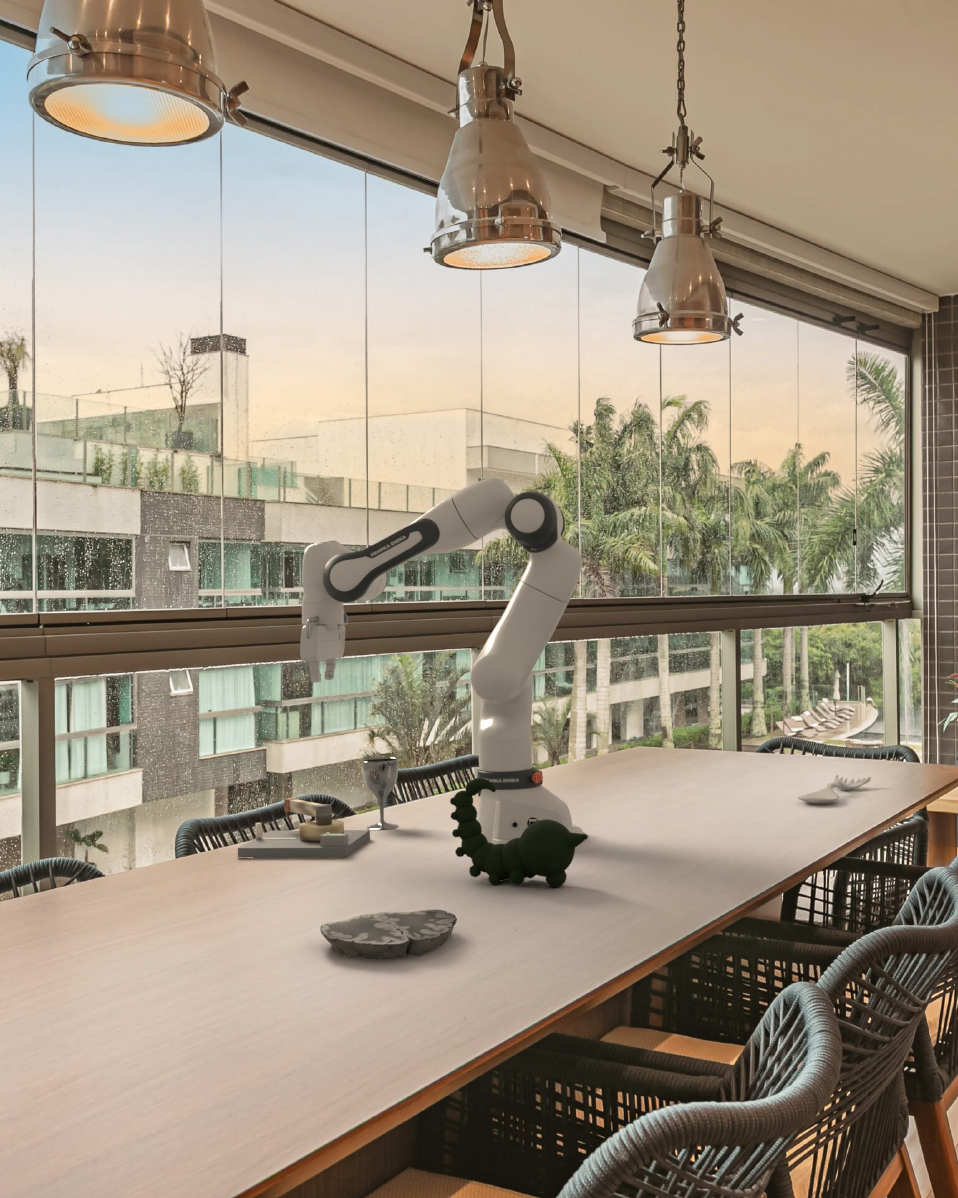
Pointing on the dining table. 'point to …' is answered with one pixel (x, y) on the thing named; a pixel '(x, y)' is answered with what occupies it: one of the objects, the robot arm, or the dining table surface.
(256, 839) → the stand
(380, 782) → the wine glass
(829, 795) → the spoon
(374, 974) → the dining table surface
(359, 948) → the brain slice
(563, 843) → the toy figurine
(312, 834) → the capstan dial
